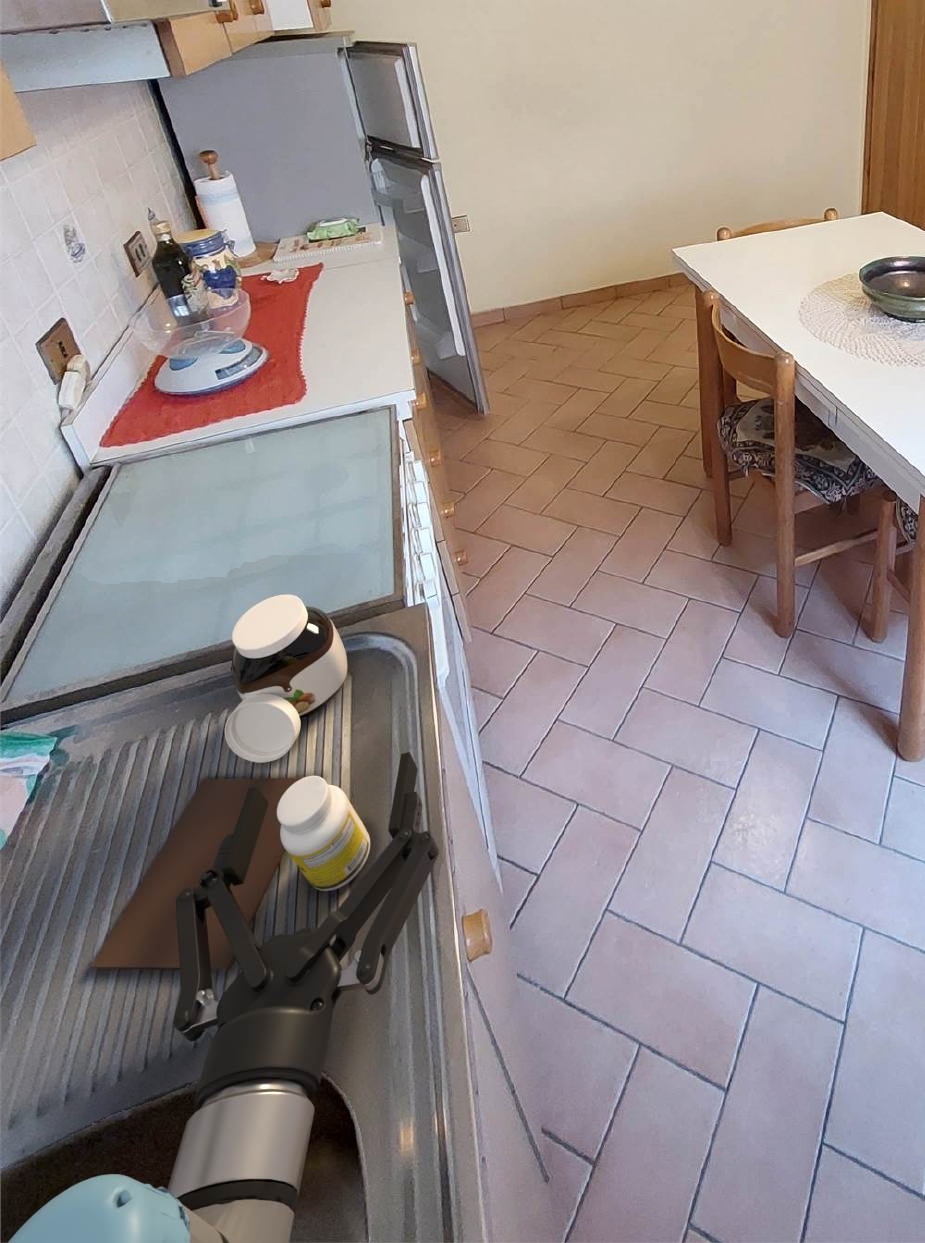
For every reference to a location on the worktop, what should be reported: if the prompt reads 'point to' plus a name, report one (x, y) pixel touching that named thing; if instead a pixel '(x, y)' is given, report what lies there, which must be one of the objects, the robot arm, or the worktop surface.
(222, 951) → the runner mat
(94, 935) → the worktop surface
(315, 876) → the supplement bottle
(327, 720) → the worktop surface
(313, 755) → the worktop surface
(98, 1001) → the worktop surface
